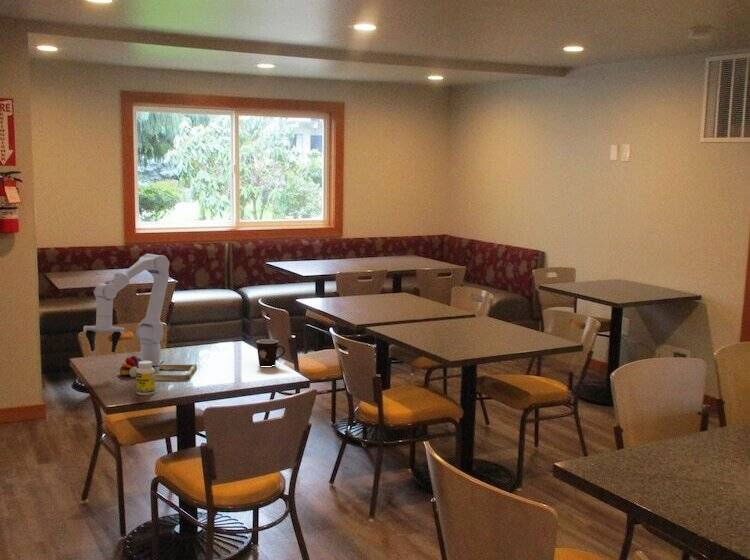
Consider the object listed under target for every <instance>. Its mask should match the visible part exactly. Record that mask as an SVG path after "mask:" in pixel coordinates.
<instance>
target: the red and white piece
mask: <svg viewBox="0 0 750 560" xmlns="http://www.w3.org/2000/svg"><path fill="white" fill-rule="evenodd" d="M140 361H142V360H141V357H137V356H136V355H132V356H130V357H126V358H125V363H121V365H120V366H119V367H118V374H119V375H121V376H126V375H129V376H130V377H131V378H136V370H137V369H138V368H139V366H138V362H140Z"/></svg>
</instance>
